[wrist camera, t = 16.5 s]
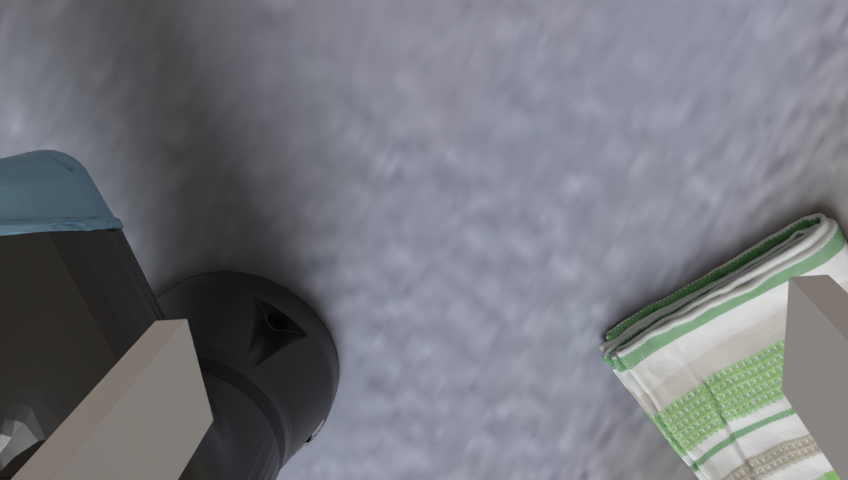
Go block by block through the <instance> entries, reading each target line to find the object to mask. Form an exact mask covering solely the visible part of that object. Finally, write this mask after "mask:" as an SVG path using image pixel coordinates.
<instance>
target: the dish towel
mask: <svg viewBox="0 0 848 480" xmlns="http://www.w3.org/2000/svg"><path fill="white" fill-rule="evenodd" d="M826 274H828V275H829V276H830V277H831V278H832V279H834V280H835V281H836V282H837V283H838V284H839V285H840V286H841V287H842V288H843V289H844V290H845V291H846V292H847V293H848V243H847V242H846V240H845V238H844V236H843V233H842V231H841V229H840V227H839V225H838V224H837V222H836V221H835V220H833V219H831V218H826V216H825V215H823V214H822V213H816V214H813V215H808V216H804V217H802V218H801V219H799V220H797V221H795V222H793V223H792V224H790V225H788V226H786V227H785V228H783V229H781V230H780V231H778V232H776V233H774V234H772V235H770V236H768V237H766V238H764V239H763V240H762V241H760V242H759V243H757V244H756V245H754V246H752V247H751V248H749V249H747V250H745V251H744V252H742V253H741V254H739V255H738V256H736V257H734V258H733V259H731V260H729V261H728V262H726V263H725V264H723V265H721V266H719V267H717V268H715V269H713V270H711V271H710V272H709V273H707V274H706V275H705V276H703V277H701V278H699V279H697V280H695V281H693V282H691V283H689V284H688V285H686V286H684V287H683V288H681V289H679V290H677V291H676V292H674V293H672V294H671V295H669V296H667V297H665V298H664V299H662V300H659V301H657V302H654V303H652V304H650V305H648V306H646V307H644V308H643V309H642V310H640V311H639V312H637V313H636V314H634V315H632V316H631V317H629V318H627V319H625V320H624V321H622V322H621V323H619V324H618V325H617V326H616V327H614V328H613V329H612V330H608V331H607V332H606V339H607V341H606V342H604V343H601V344H599V348H600V350H601V351H603V356H602V357H603V360H604V361H605V362H606V363H608V364H609V365H610V366H611V367H612V369H613V371H614V373H615V374H616V375H617V376H618V378H619V379H620V380H621V382H622V383H623V385H624V386H625V387H626V388H627V389H628V390H629V392H630V393H631V394H632V395H633V396H634V398H635V399H636V400H637V401H638V402H639V404H640V405H641V406H642V407H643V409H644V410H645V412H646V414H647V415H648V416H649V417H650V419H651V420H652V421H653V422H654V424H655V425H656V426H657V427H658V429H659V430H660V431H661V433H662V434H663V435H664V437H665V438H666V440H667V441H668V442H669V444H670V445H671V446H672V448H674V450H675V451H676V452H677V453H678V455H679V456H680V457H681V458H682V459H683V460H684V461H685V462H686V464H687V465H688V466H689V467H690V468H691V469H692V471H693V472H694V473H695V475H696V476H697V477H698V478H699V480H840V478H839V477H838V475H837V474H836V472H835V471H834V469H833V468H832V466H831V465H830V463H829V462H828V460H827V459H826V457H825V456H824V454H823V453H822V451H821V450H820V448H819V447H818V445H817V443H816V442H815V440H814V439H813V437H812V436H811V434H810V433H809V431H808V430H807V428H806V427H805V425H804V424H803V422H802V421H801V419H800V418H799V416H798V415H797V413H796V412H795V410H794V409H793V407H792V406H791V404H790V403H789V401H788V400H787V398H786V397H785V395H784V394H783V392H782V377H783V362H784V346H785V331H786V316H787V301H788V285H789V277H797V276H812V275H826Z"/></svg>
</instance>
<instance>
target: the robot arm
mask: <svg viewBox="0 0 848 480" xmlns="http://www.w3.org/2000/svg"><path fill="white" fill-rule="evenodd" d="M123 227H124V226H123V224H122V222H121V221H120V219H118V218H116V217H114V216H113V214H112V212H111V211H110V209H109V207H108V206H107V204H106V203H105V201H104V199H103V197H102V196H101V194H100V192H99V190H98V189H97V187H96V185H95V183H94V182H93V180H92V178H91V176H90V175H89V173H88V172H87V170H86V169H85V167H84V166H83V165H82V164H81V163H80V162H79V161H77V160H76V159H75V158H73V157H71V156H70V155H67V154H65V153H62V152H59V151H55V150H38V151H32V152H27V153H23V154H19V155H14V156H10V157H6V158H2V159H0V480H276V478H277V476H278V473H279V471H280V469H281V468H282V467H283V466H284V465H285V464H286V463H287V461H288V460H289V459H290V458H291V457H292V456H293V455H295V454H296V453H297V452H299V451H300V450H302V449H303V448H304V447H305V446H306V445H307V444H308V443H310V442H311V441H312V440H313V438H314V437H315V436H316V435H317V434H318V432H319V431H320V429H321V428H322V426H323V425H324V423H325V421H326V419H327V417H328V415H329V412H330V410H331V407H332V404H333V401H334V399H335V395H336V392H337V388H338V381H339V365H338V358H337V354H336V350H335V347H334V344H333V341H332V339H331V337H330V335H329V333H328V331H327V329H326V328H325V326H324V324H323V323H322V321H321V320H320V319H319V317H318V316H317V315H316V314H315V313H314V311H313V310H312V309H311V308H310V307H309V306H308V305H307V304H306V303H305V302H303V301H302V300H301V299H300V298H299V297H297V296H296V295H294V294H293V293H292V292H290V291H288V290H287V289H285V288H283V287H282V286H280V285H278V284H276V283H274V282H271V281H269V280H266V279H264V278H261V277H257V276H254V275H250V274H245V273H238V272H212V273H205V274H200V275H197V276H193V277H190V278H188V279H185V280H183V281H181V282H179V283H177V284H176V285H174V286H172V287H171V288H169V289H168V290H167V291H166V292H164V293H163V294H162V295H161V296H160V297H159V298H158V299H157V300H156V298H155V296H154V294H153V292H152V290H151V288H150V286H149V284H148V282H147V280H146V278H145V276H144V274H143V271H142V269H141V267H140V265H139V263H138V261H137V259H136V257H135V255H134V253H133V251H132V249H131V247H130V245H129V243H128V241H127V239H126V237H125V235H124V233H123V231H122V229H121V228H123ZM782 392H783V394H784V395H785V397H786V398H787V400H788V401H789V403H790V404H791V406H792V407H793V409H794V410H795V412H796V413H797V415H798V416H799V418H800V419H801V421H802V422H803V424H804V425H805V427H806V428H807V430H808V431H809V433H810V434H811V436H812V437H813V439H814V440H815V442H816V443H817V445H818V447H819V448H820V450H821V451H822V453H823V454H824V456H825V457H826V459H827V460H828V462H829V463H830V465H831V466H832V468H833V469H834V471H835V472H836V474H837V475H838V477H839V478H840V480H848V293H847V292H846V291H845V290H844V289H843V288H842V287H841V286H840V285H839V284H838V283H837V282H836V281H835V280H834V279H832V278H831V277H830V276H829V275H828V274H826V275H812V276H797V277H789V285H788V301H787V316H786V331H785V346H784V362H783V377H782Z"/></svg>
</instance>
